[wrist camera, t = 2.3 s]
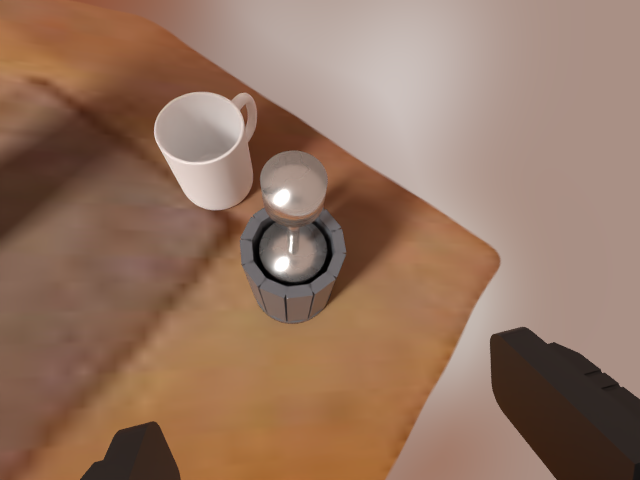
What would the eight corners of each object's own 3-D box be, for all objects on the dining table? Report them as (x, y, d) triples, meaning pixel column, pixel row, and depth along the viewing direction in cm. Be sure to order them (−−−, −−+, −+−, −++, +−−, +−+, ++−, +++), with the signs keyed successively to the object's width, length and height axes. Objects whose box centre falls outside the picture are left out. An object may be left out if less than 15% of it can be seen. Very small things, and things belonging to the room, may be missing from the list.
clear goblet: (263, 287, 30) (246, 230, 19) (257, 225, 32) (239, 140, 21) (330, 279, 31) (352, 219, 20) (320, 218, 33) (335, 133, 22)
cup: (167, 188, 44) (134, 134, 35) (232, 120, 48) (217, 55, 39) (224, 225, 43) (205, 180, 34) (285, 152, 47) (284, 94, 38)
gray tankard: (256, 328, 39) (243, 305, 28) (248, 230, 43) (233, 175, 32) (337, 318, 40) (354, 291, 29) (322, 223, 44) (332, 167, 33)
